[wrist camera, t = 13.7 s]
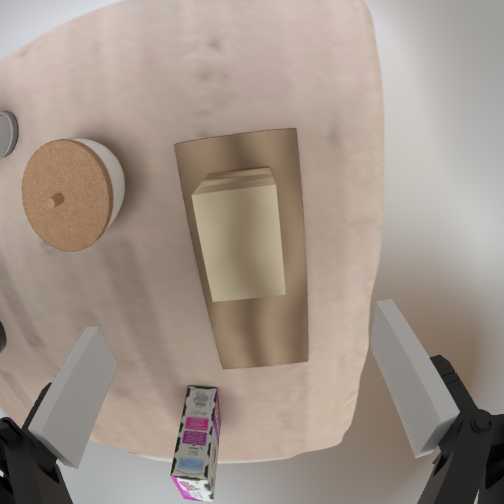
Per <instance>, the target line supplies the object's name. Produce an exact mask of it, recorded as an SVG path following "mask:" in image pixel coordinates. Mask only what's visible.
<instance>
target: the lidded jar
mask: <svg viewBox="0 0 504 504" xmlns="http://www.w3.org/2000/svg"><path fill="white" fill-rule="evenodd" d="M124 194H125V178H124V173H123V170H122V167H121V165H120V163H119V161H118V159H117V158H116V157H115V155H114V154H113V153H112V152H111V151H110V150H109V149H108V148H106V147H105V146H104V145H102V144H100V143H98V142H96V141H92V140H88V139H78V138H74V139H61V140H55V141H51V142H49V143H46V144H45V145H43V146H42V147H40V148H39V149H38V150H37V151H36V152H35V153H34V154H33V156H32V157H31V159H30V160H29V162H28V164H27V166H26V169H25V172H24V176H23V181H22V200H23V206H24V209H25V213H26V215H27V218H28V220H29V222H30V224H31V226H32V227H33V229H34V230H35V232H36V233H37V234H38V235H39V236H40V237H41V238H42V239H43V240H44V241H45V242H46V243H48V244H49V245H51V246H53V247H55V248H57V249H60V250H64V251H80V250H82V249H85V248H87V247H89V246H90V245H92V244H93V243H94V242H95V241H96V240H98V239H99V238H100V237H101V235H102V234H103V233H104V232H105V231H106V230H107V229H108V227H109V226H110V225H111V224H112V222H113V221H114V220H115V218H116V216H117V215H118V213H119V211H120V209H121V206H122V203H123V199H124Z"/></svg>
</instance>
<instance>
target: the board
mask: <svg viewBox="0 0 504 504" xmlns="http://www.w3.org/2000/svg"><path fill="white" fill-rule="evenodd" d="M174 146H175V152H176V158H177V164H178V170H179V176H180V181H181V187H182V192H183V198H184V203H185V208H186V213H187V219H188V224H189V229H190V233H191V238H192V243H193V248H194V253H195V257H196V262H197V266H198V271H199V275H200V280H201V284H202V289H203V293H204V297H205V301H206V306H207V310H208V314H209V318H210V322H211V326H212V330H213V334H214V338H215V342H216V346H217V349H218V353H219V357H220V361H221V365H222V368H223V369H237V368H250V367H262V366H273V365H282V364H291V363H299V362H307V361H308V305H307V275H306V252H305V234H304V217H303V202H302V189H301V176H300V165H299V153H298V143H297V133H296V128H291V129H279V130H269V131H259V132H250V133H242V134H234V135H227V136H220V137H213V138H207V139H200V140H195V141H189V142H183V143H178V144H174ZM265 166H269V168H270V170H271V173H272V176H273V178H274V181H275V184H276V190H277V200H278V210H279V221H280V232H281V243H282V255H283V266H284V279H285V292H286V295H278V296H269V297H259V298H249V299H239V300H229V301H217V302H213V300H212V296H211V291H210V286H209V282H208V277H207V273H206V268H205V263H204V258H203V253H202V248H201V243H200V238H199V233H198V228H197V223H196V218H195V212H194V207H193V201H192V196H191V195H192V194H193V193H194V191H195V190H196V189H197V188H198V186H199V185H200V184H201V182H202V181H203V180H204V179H205V177H206V176H207V175H208V174H210V173H217V172H224V171H232V170H239V169H248V168H256V167H265Z"/></svg>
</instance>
